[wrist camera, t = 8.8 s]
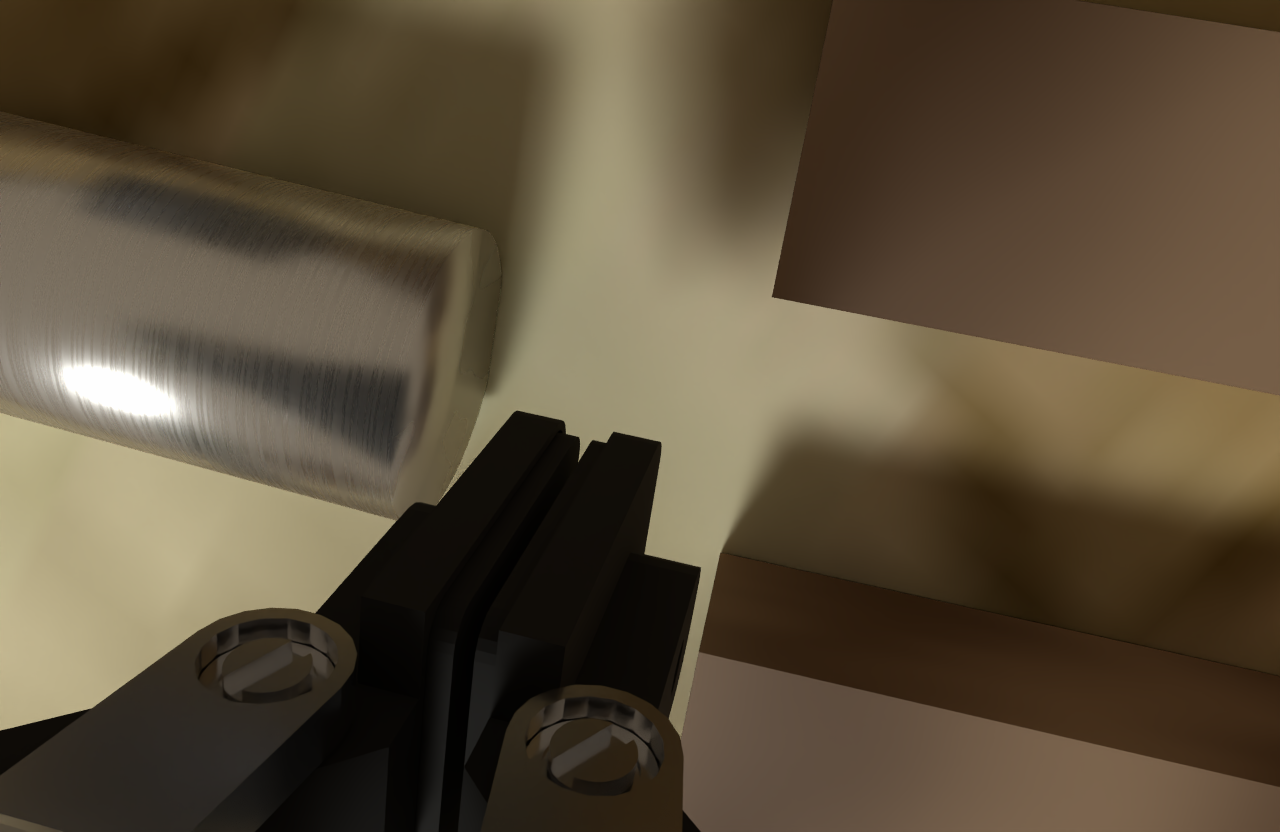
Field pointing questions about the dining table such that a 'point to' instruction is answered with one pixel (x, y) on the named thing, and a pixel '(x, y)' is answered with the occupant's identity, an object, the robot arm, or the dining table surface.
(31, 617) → the dining table surface
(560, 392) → the dining table surface
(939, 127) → the parallel rectangular beams
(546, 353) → the dining table surface
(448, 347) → the axle
